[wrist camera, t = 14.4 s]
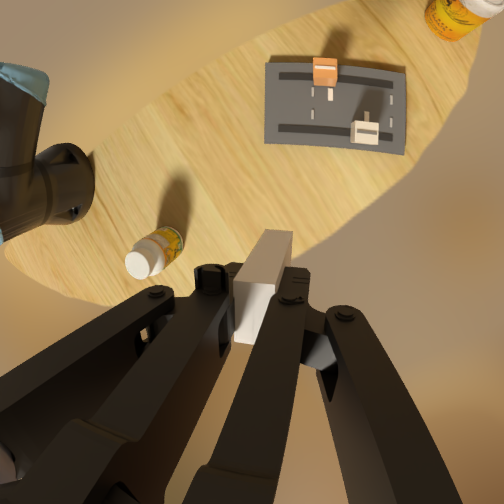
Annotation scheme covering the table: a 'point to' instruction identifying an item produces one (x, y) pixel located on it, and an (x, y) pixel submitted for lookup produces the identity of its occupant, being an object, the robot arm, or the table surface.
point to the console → (334, 107)
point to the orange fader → (324, 71)
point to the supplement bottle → (154, 252)
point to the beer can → (459, 16)
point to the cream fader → (364, 132)
